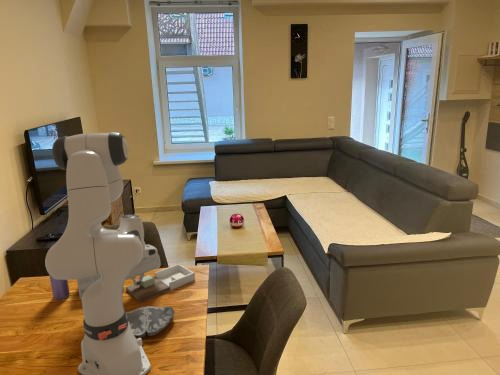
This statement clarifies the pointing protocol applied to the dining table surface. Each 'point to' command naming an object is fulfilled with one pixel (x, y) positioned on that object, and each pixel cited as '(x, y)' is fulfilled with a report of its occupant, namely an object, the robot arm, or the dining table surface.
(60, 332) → the dining table surface
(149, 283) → the sage tile
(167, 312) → the brain slice
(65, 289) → the beverage can
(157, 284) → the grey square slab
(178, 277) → the cream tile
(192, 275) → the grey tray
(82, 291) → the supplement box
